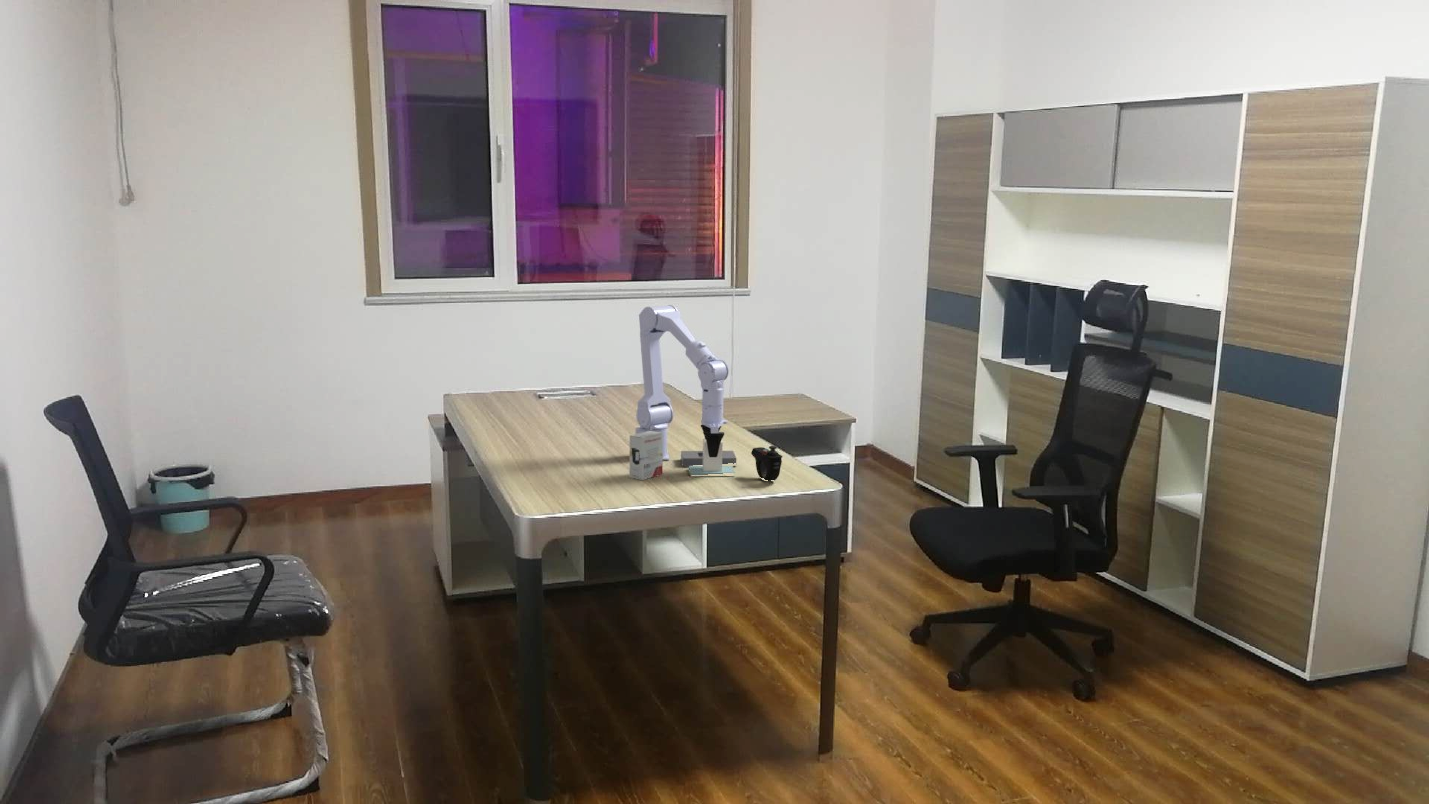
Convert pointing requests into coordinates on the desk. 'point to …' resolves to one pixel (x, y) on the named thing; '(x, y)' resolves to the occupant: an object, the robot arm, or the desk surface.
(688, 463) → the grey board with hole
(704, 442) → the plug
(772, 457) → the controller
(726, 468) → the mat
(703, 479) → the desk surface
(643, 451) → the ink box
